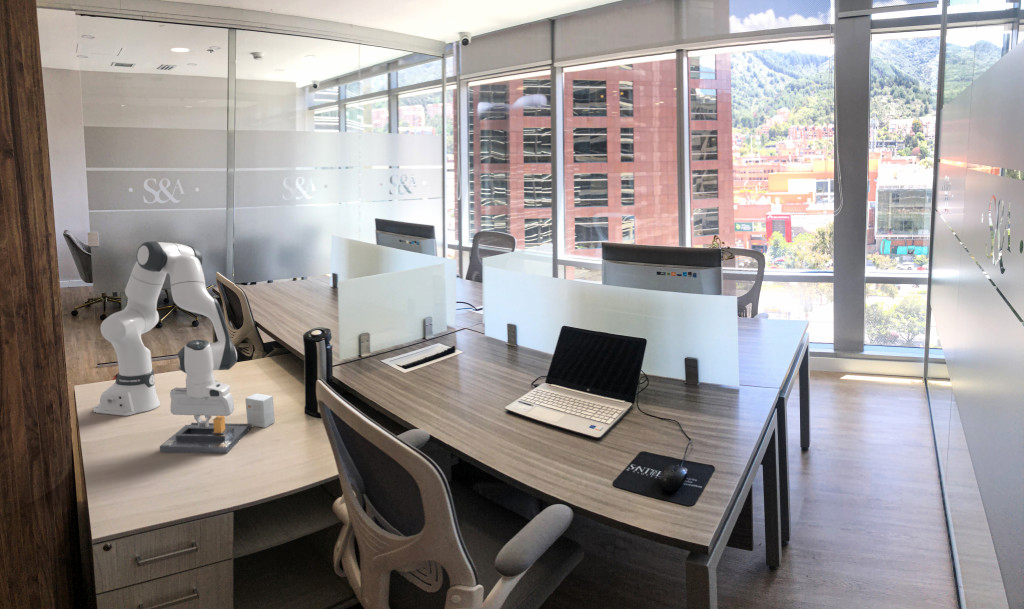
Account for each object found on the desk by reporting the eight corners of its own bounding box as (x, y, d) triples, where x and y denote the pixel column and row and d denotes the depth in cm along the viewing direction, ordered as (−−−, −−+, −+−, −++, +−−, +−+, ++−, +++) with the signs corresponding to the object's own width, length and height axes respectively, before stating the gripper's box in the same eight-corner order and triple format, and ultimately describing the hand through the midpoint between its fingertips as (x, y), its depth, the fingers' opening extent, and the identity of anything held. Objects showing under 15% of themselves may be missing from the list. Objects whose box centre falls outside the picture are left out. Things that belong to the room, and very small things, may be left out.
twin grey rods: (188, 429, 233) (188, 425, 233) (193, 425, 236) (192, 422, 236) (249, 430, 234) (249, 426, 233) (253, 426, 237) (252, 423, 236)
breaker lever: (211, 437, 221) (210, 420, 220) (216, 432, 225) (215, 415, 224) (223, 437, 221) (222, 420, 220) (228, 432, 225) (227, 415, 224)
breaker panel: (160, 452, 215) (159, 441, 214) (186, 430, 232) (185, 420, 232) (227, 453, 215) (226, 443, 214) (248, 431, 233) (247, 421, 232)
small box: (275, 422, 241) (273, 395, 239) (264, 428, 236) (263, 400, 234) (257, 419, 244) (255, 392, 241) (246, 425, 238) (245, 397, 236)
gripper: (165, 390, 217) (168, 429, 220) (227, 392, 217) (229, 431, 220) (174, 384, 223) (177, 422, 226) (234, 385, 223) (237, 423, 226)
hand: (203, 426), depth 223 cm, fingers closed
